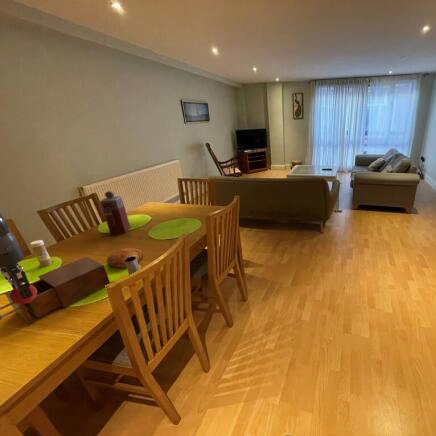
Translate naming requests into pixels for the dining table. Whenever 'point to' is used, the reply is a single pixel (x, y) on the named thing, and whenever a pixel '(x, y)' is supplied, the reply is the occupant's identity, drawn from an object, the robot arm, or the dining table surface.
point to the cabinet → (76, 280)
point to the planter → (131, 265)
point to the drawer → (35, 302)
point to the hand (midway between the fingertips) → (24, 294)
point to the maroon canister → (115, 213)
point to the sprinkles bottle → (41, 253)
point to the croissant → (123, 257)
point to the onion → (17, 297)
